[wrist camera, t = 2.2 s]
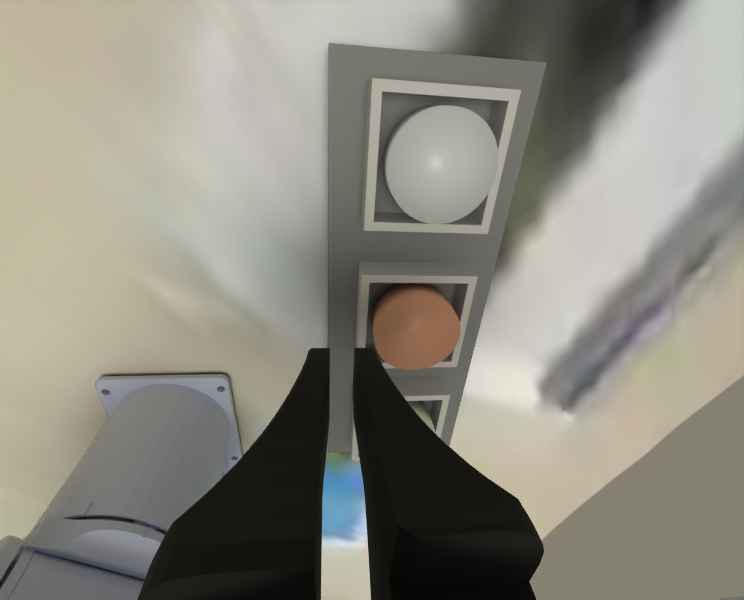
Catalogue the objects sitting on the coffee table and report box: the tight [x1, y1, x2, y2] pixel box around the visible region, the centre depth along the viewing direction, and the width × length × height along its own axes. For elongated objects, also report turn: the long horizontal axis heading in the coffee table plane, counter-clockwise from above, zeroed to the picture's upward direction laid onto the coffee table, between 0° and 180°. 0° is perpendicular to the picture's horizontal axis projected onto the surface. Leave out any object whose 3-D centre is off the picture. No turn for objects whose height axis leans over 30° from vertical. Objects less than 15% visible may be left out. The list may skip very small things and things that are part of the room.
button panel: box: [328, 43, 547, 461], centre depth 20 cm, size 24×9×4 cm, turn 176°
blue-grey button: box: [383, 105, 498, 224], centre depth 15 cm, size 4×4×2 cm
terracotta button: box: [371, 283, 461, 370], centre depth 19 cm, size 4×4×2 cm
